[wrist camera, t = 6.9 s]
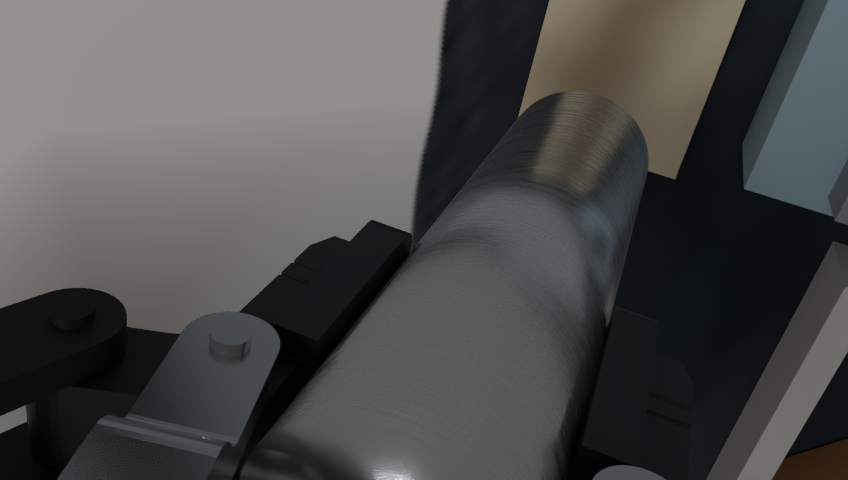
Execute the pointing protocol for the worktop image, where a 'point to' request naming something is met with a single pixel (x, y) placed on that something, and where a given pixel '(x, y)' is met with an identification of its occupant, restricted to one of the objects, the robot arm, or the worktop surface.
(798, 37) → the vise block
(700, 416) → the worktop surface
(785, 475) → the bracket
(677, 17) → the rest board
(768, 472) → the frame
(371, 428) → the steel pin
